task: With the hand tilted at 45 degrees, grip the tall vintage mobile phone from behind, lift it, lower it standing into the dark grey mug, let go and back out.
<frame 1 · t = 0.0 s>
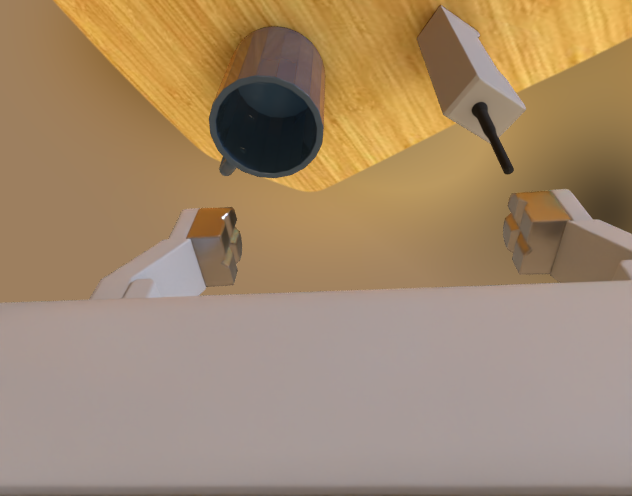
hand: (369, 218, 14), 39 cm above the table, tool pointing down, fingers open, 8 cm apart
dark grey mug: (278, 75, 50), on the table
vintage mobile phone: (446, 33, 47), on the table
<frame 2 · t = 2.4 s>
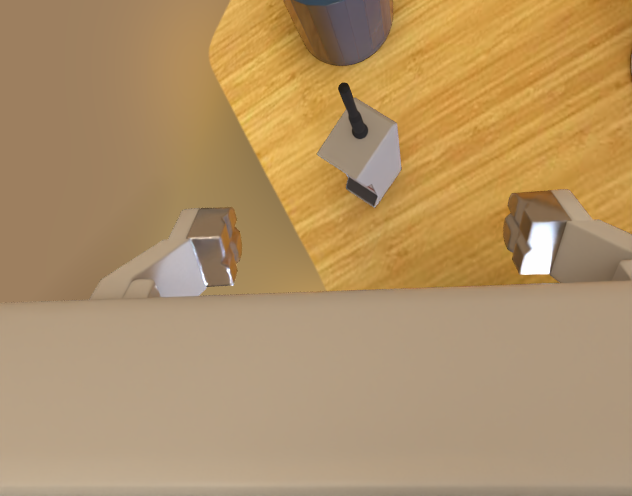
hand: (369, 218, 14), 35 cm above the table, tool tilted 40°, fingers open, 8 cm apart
dark grey mug: (345, 19, 50), on the table
vintage mobile phone: (374, 180, 49), on the table
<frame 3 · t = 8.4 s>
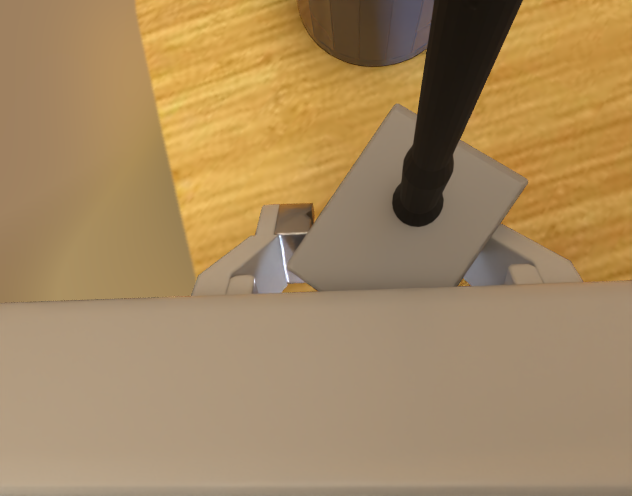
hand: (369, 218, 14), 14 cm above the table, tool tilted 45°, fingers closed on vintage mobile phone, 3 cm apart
vintage mobile phone: (396, 264, 27), on the table, touching gripper
when the fingers open (15 cm above the table, at t = 19.4 s): vintage mobile phone stays where it is, resting on dark grey mug.
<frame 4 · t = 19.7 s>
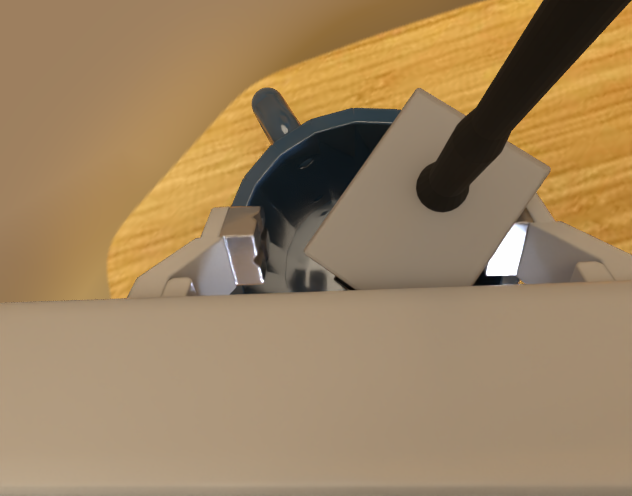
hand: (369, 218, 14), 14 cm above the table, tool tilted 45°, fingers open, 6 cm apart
dark grey mug: (362, 271, 28), on the table
vintage mobile phone: (383, 264, 27), point 1 cm above the table, touching dark grey mug
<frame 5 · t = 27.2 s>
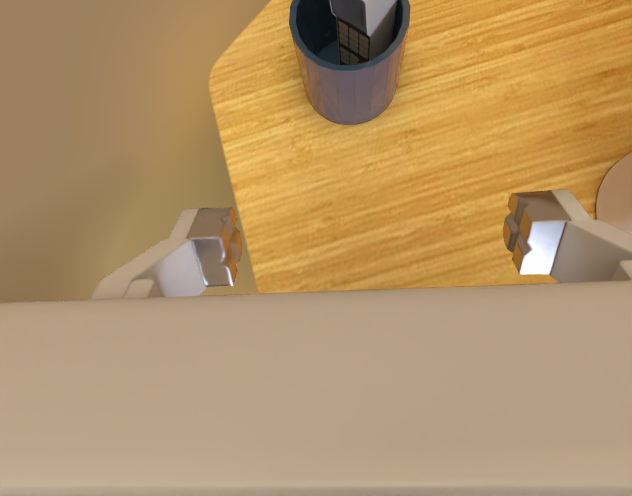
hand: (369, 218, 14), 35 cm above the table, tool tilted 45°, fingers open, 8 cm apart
dark grey mug: (350, 80, 51), on the table
vintage mobile phone: (361, 74, 51), point 1 cm above the table, touching dark grey mug
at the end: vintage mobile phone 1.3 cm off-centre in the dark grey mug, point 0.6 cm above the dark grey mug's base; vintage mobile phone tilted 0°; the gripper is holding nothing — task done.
